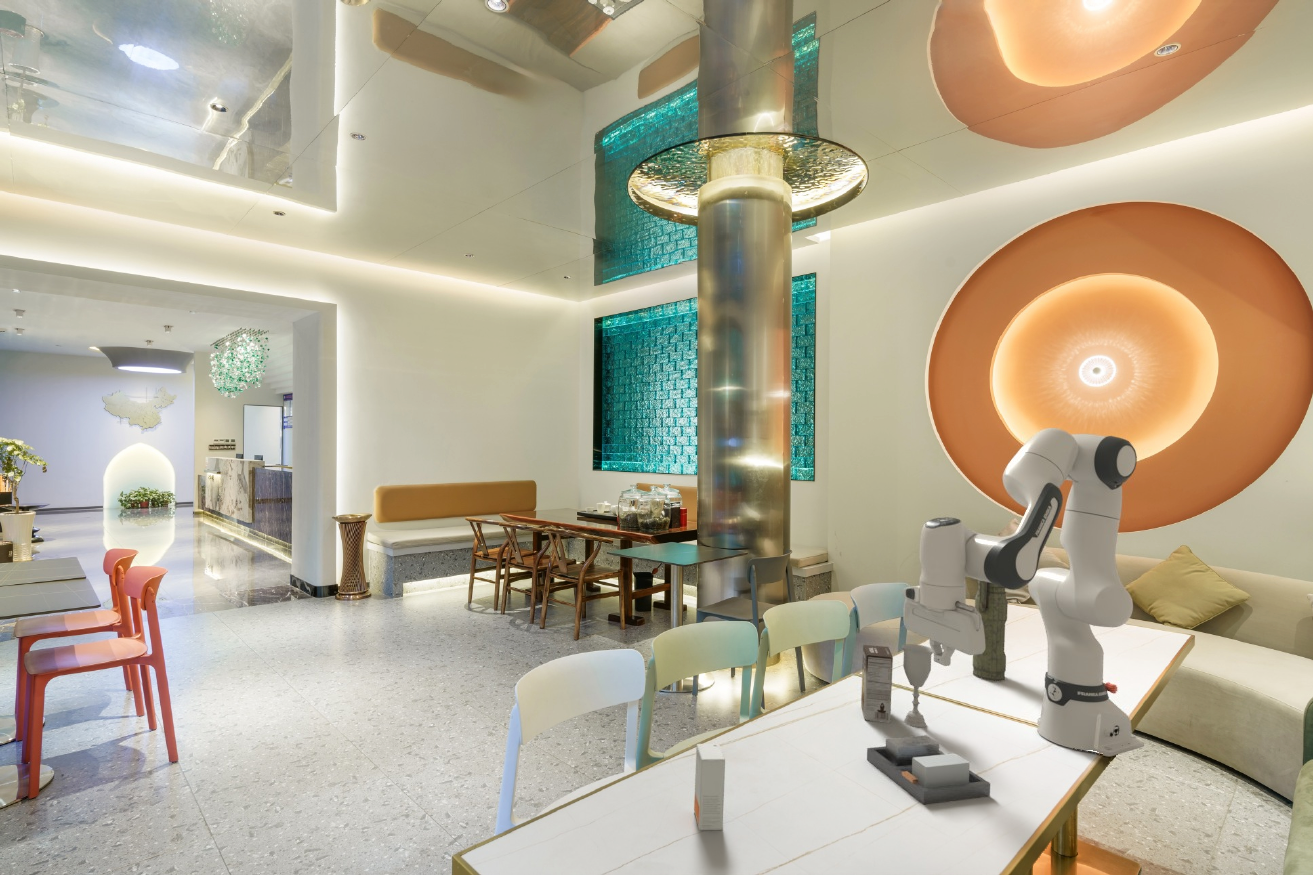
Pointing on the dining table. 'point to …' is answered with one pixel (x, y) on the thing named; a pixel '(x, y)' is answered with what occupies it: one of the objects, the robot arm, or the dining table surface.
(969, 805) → the dining table surface
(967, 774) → the pale grey rectangular block
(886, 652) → the coffee box
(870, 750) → the tray
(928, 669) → the chalice
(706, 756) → the skincare box
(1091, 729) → the robot arm
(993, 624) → the thermos
